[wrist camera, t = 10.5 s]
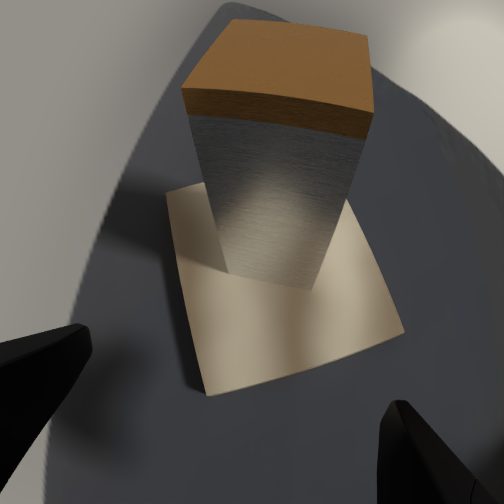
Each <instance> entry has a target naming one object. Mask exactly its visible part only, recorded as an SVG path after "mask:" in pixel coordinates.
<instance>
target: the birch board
mask: <svg viewBox="0 0 504 504" xmlns="http://www.w3.org/2000/svg"><path fill="white" fill-rule="evenodd" d="M166 199H167V206H168V212H169V219H170V225H171V231H172V237H173V243H174V248H175V254H176V260H177V265H178V270H179V276H180V281H181V286H182V291H183V296H184V301H185V306H186V310H187V315H188V320H189V324H190V329H191V333H192V338H193V342H194V346H195V351H196V355H197V359H198V363H199V367H200V371H201V375H202V379H203V383H204V387H205V391H206V395H207V396H214V395H218V394H223V393H227V392H231V391H235V390H239V389H243V388H247V387H251V386H255V385H258V384H262V383H266V382H269V381H273V380H276V379H280V378H283V377H286V376H290V375H293V374H296V373H299V372H303V371H306V370H309V369H312V368H315V367H318V366H321V365H324V364H327V363H330V362H333V361H336V360H338V359H341V358H344V357H347V356H349V355H352V354H355V353H358V352H360V351H363V350H365V349H368V348H371V347H373V346H376V345H378V344H381V343H383V342H386V341H388V340H390V339H393V338H395V337H397V336H399V335H401V334H403V333H404V329H403V326H402V324H401V321H400V318H399V316H398V313H397V311H396V308H395V305H394V303H393V300H392V298H391V296H390V293H389V291H388V288H387V286H386V283H385V281H384V279H383V276H382V274H381V272H380V269H379V267H378V265H377V263H376V260H375V258H374V256H373V254H372V251H371V249H370V247H369V245H368V243H367V240H366V238H365V236H364V234H363V232H362V230H361V228H360V226H359V223H358V221H357V219H356V217H355V215H354V213H353V211H352V209H351V207H350V205H349V203H348V201H347V199H346V201H345V204H344V207H343V209H342V212H341V215H340V218H339V221H338V223H337V226H336V229H335V232H334V234H333V237H332V240H331V242H330V245H329V248H328V250H327V253H326V255H325V258H324V261H323V263H322V266H321V268H320V271H319V273H318V276H317V278H316V281H315V283H314V286H313V288H312V291H308V290H303V289H298V288H293V287H288V286H284V285H279V284H274V283H269V282H264V281H259V280H255V279H250V278H245V277H241V276H236V275H231V274H229V273H228V269H227V266H226V262H225V258H224V255H223V251H222V247H221V244H220V240H219V236H218V233H217V229H216V225H215V222H214V218H213V214H212V210H211V207H210V203H209V199H208V195H207V191H206V188H205V184H204V182H203V183H199V184H195V185H191V186H188V187H184V188H180V189H177V190H173V191H170V192H166Z"/></svg>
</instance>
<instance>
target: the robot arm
mask: <svg viewBox="0 0 504 504" xmlns="http://www.w3.org/2000/svg"><path fill="white" fill-rule="evenodd" d="M92 350H93V348H92V341H91V335H90V330H89V328H88V327H87V326H84V325H82V324H79V323H75V324H72V325H68V326H64V327H60V328H56V329H53V330H49V331H45V332H41V333H37V334H33V335H29V336H25V337H21V338H18V339H13V340H10V341H5V342H2V343H0V493H1V491H2V490H3V488H4V487H5V485H6V483H7V482H8V479H9V478H10V477H11V475H12V474H13V472H14V471H15V469H16V468H17V466H18V464H19V463H20V461H21V460H22V458H23V457H24V455H25V454H26V452H27V451H28V450H29V448H30V447H31V445H32V444H33V442H34V441H35V439H36V438H37V436H38V435H39V434H40V432H41V430H42V429H43V428H44V426H45V425H46V424H47V422H48V421H49V419H50V418H51V416H52V415H53V414H54V412H55V411H56V410H57V408H58V407H59V405H60V404H61V403H62V401H63V400H64V398H65V397H66V396H67V394H68V393H69V391H70V390H71V388H72V387H73V385H74V383H75V382H76V380H77V378H78V377H79V375H80V373H81V371H82V370H83V368H84V366H85V365H86V363H87V361H88V360H89V358H90V356H91V354H92ZM377 504H499V503H498V502H497V501H496V500H495V499H494V498H493V497H492V496H491V495H490V493H489V492H488V491H487V490H486V489H485V488H484V487H483V486H482V485H481V483H480V482H479V481H478V480H477V479H475V477H474V476H473V474H472V473H471V472H470V471H469V470H468V469H467V468H466V466H465V465H464V464H463V463H462V462H461V461H460V460H459V459H458V457H457V456H456V455H455V454H454V453H453V452H452V451H451V449H450V448H449V447H448V446H447V445H446V444H445V443H444V442H443V440H442V439H441V438H440V437H439V436H438V435H437V434H436V433H435V431H434V430H433V429H432V428H431V427H430V426H429V425H428V424H427V422H426V421H425V420H424V419H423V418H422V417H421V416H420V415H419V414H418V412H417V411H416V410H415V409H414V408H413V407H412V406H411V405H410V404H409V402H407V401H405V400H393V401H392V402H391V403H390V405H389V407H388V409H387V410H386V412H385V414H384V416H383V418H382V420H381V423H380V431H379V448H378V461H377Z"/></svg>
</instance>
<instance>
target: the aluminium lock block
mask: <svg viewBox="0 0 504 504" xmlns="http://www.w3.org/2000/svg"><path fill="white" fill-rule="evenodd" d="M181 91H182V96H183V100H184V104H185V108H186V112H187V116H188V120H189V124H190V129H191V133H192V137H193V141H194V145H195V149H196V153H197V157H198V160H199V164H200V168H201V172H202V176H203V180H204V184H205V188H206V191H207V195H208V199H209V203H210V207H211V210H212V214H213V218H214V222H215V225H216V229H217V233H218V236H219V240H220V244H221V247H222V251H223V255H224V258H225V262H226V266H227V269H228V273H229V274H231V275H236V276H241V277H245V278H250V279H255V280H259V281H264V282H269V283H274V284H279V285H284V286H288V287H293V288H298V289H303V290H308V291H312V288H313V286H314V283H315V281H316V278H317V276H318V273H319V271H320V268H321V266H322V263H323V261H324V258H325V255H326V253H327V250H328V248H329V245H330V242H331V240H332V237H333V234H334V232H335V229H336V226H337V223H338V221H339V218H340V215H341V212H342V209H343V207H344V204H345V201H346V198H347V195H348V192H349V190H350V187H351V184H352V181H353V178H354V175H355V172H356V169H357V166H358V163H359V160H360V157H361V153H362V150H363V147H364V144H365V141H366V138H367V134H368V131H369V128H370V125H371V121H372V118H373V115H374V104H373V89H372V77H371V66H370V57H369V48H368V39H367V36H366V35H361V34H357V33H352V32H347V31H342V30H336V29H330V28H324V27H318V26H311V25H304V24H295V23H286V22H275V21H261V20H237V19H233V20H232V21H231V22H230V23H229V25H228V26H227V27H226V28H225V29H224V31H223V32H222V33H221V34H220V36H219V37H218V38H217V39H216V41H215V42H214V43H213V44H212V46H211V47H210V48H209V50H208V51H207V52H206V53H205V55H204V56H203V57H202V59H201V60H200V61H199V63H198V64H197V65H196V67H195V68H194V70H193V71H192V72H191V74H190V75H189V76H188V78H187V79H186V81H185V82H184V84H183V85H182V86H181Z"/></svg>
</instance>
